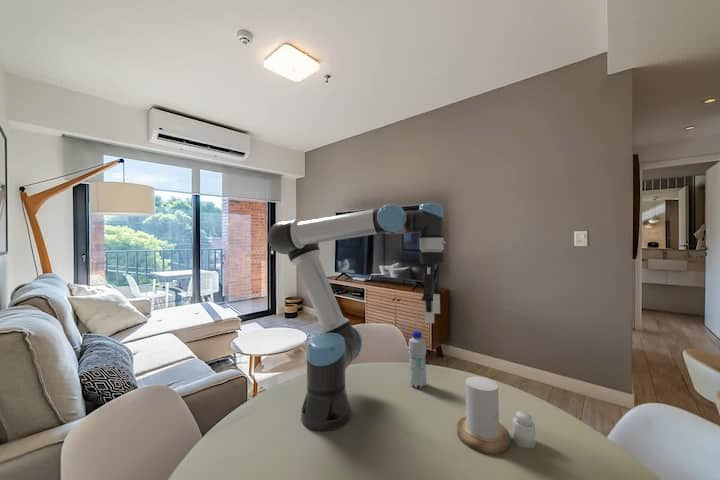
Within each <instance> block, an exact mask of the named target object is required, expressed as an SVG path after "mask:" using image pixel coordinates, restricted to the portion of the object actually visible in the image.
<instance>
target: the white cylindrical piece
mask: <svg viewBox="0 0 720 480" xmlns="http://www.w3.org/2000/svg"><path fill="white" fill-rule="evenodd" d="M464 385H465V417H466V427H467V429H468V430H469V431H470V432H471V433H472V434H474V435H476V436H478V437H481V438H487V439H491V438H496V437H497V436H498V435H499V423H500V409H499V408H500V407H499V384H498V383H497V382H496V381H494V380H492V379H490V378H488V377H484V376H470V377H467V378H466V379H465V384H464Z"/></svg>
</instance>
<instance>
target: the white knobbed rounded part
mask: <svg viewBox="0 0 720 480" xmlns="http://www.w3.org/2000/svg"><path fill="white" fill-rule="evenodd" d="M512 431H513V432H512V434H513V435H512V436H513V442H514V443H515V444H516V445H517V446H520V447H521V448H524V449H529V450H531V449H534V448H536V425H535V422H534V421H533V419H532V415H531V414H530V413H528V412H526V411H523V410H517V411H516V412H515V417H513V418H512Z"/></svg>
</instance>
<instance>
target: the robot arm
mask: <svg viewBox="0 0 720 480" xmlns="http://www.w3.org/2000/svg"><path fill="white" fill-rule="evenodd" d="M377 234H386V235H403V234H407V235H408V234H419V251H421V252H419V262H420V264H423V265H424V264H425V265H426V267H424V268H423V269H424V277H423V278H424V279H423V293H422V295H423V296H422V297H421V301H424V306H423V307H424V323H426V324H428V323H429V324H435V314H437V315H438V314H439V315H440V314H441V295H440V294H442V293H443V291H442V290H441V283H440V280H441V279H440V269H439V268H440V266H439V265H441V264H444V263H445V253H444V252H443V251H444V250H445V249H444V245H445V244H447V243H446V240H444V208H443V205H442V204H441V203H438V202H425V203H422V204H420V205H419V208H418V210H404V208H402V207H401V206H399V205H397V204H394V203H388V204H385V205H383V206H382V207H379V208H372V209H367V210H361V211H353V212H350V213H343V214H338V215H331V216H327V217H320V218H314V219H308V220H300V219H297V218H295V219H291V220H288V219H287V220H280V221H277V222H276V223H274V224H273V225H271V227H270V229H269V231H268V234H267V241H268V244H269V246H270V247H271V249H272V250H273V251H274V252H276V253H278V254H281V255H287V257H288V259H289V262H290V263H291V264H292V265H295V266H296V267H297V270H298V272H299V275H300V277H301V280H302V281H303V282H302V283H303V285H304V287H305V290H306V292H307V293H306V294H307V295H308V297H309V299H310V302H311V305H312V308H313V310H314V312H315V314H316V315H315V316H316V317H317V320H318V322H319V324H320V329H319V334H317V335H315V336H314V337H312V338H311V339H309V341H308V343H307V350H306V383H307V384H306V386H307V390H306V394H305V397H304V401H303V403H302V407H301V413H300V415H301V417H300V418H301V419H300V420H301V423H302V424H303V425H304V426H305V427H306V426H307V427H306V428H309V429H311V430H314V431H320V432H323V431H326V432H327V431H332V430H337V429H338V428H341V427H343V426H345V425H346V424H348V422H349V421H350V419H351V418H352V405H351V402H350V400H349V395H348V393H347V389H346V369H347V368H348V367H349V366H350V365H351V364H352V363H353V361H354V360H357V357H358V356H359V355H360V352H361V351H362V346H363V339H362V335H361V333H360V332H359V330H358V329H357V328H356V327H354V326H352V323H351V321H350V319H349V318H347V317H344V314H343V313H342V310H341V307H340V305H339V303H338V301H337V299H336V296H335V293H334V291H333V289H332V286H331V283H330V282H329V279H328V276H327V275H326V274H327V273H326V272H325V270H324V266H323V265H322V262H321V260H320V257H319V256H320V254H321V249H320V246H319V245H320V243H325V242H331V241H332V242H333V241H338V240H339V241H340V240H346V239H351V238H352V239H353V238H358V237H365V236H371V235H377Z"/></svg>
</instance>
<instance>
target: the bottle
mask: <svg viewBox="0 0 720 480" xmlns="http://www.w3.org/2000/svg"><path fill="white" fill-rule="evenodd" d="M422 335H423V334H422V332H421V331H419V330H414V331H412V335H411V338H409V339H408V347H407V349H408V353H409V376H408V378H409V379H408V380H409V382H410V385H411V387H414V388H416V389H417V388H418V386H419V388H420V389H422V388H423V387H425V386H426V385H427V369H426V368H427V367H426V364H427V363H426V362H427V361H426V358H427V357H426V355H427V344H426V339H424V338H423V337H422Z"/></svg>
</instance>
